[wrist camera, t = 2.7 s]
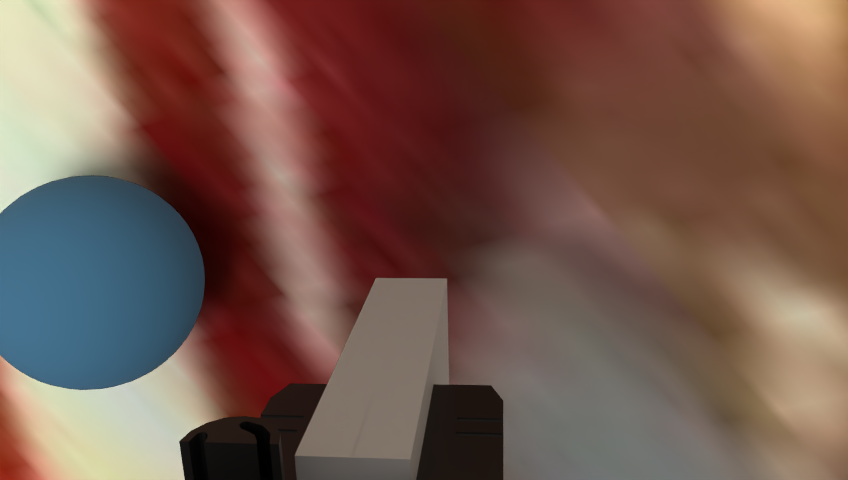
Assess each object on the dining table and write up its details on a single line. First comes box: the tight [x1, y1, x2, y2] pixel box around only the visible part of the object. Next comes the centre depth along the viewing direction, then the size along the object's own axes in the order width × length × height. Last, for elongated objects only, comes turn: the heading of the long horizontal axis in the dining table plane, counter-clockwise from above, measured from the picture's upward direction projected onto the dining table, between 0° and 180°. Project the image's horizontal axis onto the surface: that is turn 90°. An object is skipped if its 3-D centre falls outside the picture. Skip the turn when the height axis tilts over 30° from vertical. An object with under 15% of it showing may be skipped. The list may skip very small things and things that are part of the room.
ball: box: [0, 176, 205, 390], centre depth 21 cm, size 6×6×6 cm
